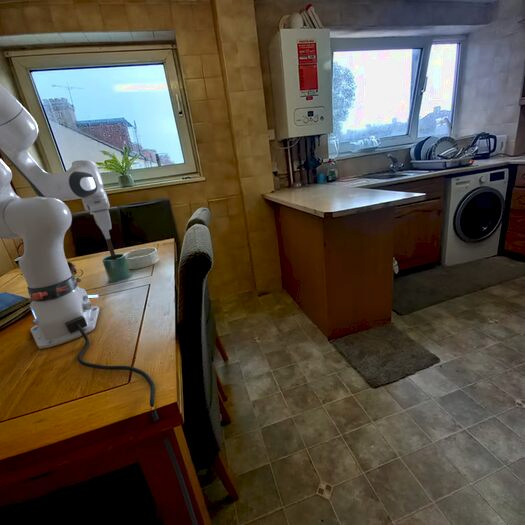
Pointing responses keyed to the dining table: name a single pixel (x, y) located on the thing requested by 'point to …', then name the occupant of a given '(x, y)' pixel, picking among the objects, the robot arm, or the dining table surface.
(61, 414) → the dining table surface
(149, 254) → the bowl
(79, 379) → the dining table surface
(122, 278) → the utensil pot
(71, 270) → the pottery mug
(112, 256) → the stirring stick
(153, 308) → the dining table surface
